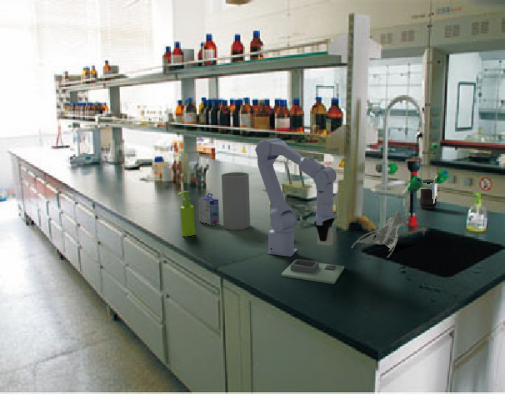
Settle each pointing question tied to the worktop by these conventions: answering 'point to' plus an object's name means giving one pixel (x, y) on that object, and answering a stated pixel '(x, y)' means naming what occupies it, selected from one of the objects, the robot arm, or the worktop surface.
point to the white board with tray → (313, 271)
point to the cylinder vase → (235, 200)
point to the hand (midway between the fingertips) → (324, 239)
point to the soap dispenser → (187, 215)
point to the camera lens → (427, 197)
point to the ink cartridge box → (208, 210)
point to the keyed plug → (329, 238)
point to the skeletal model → (385, 233)
